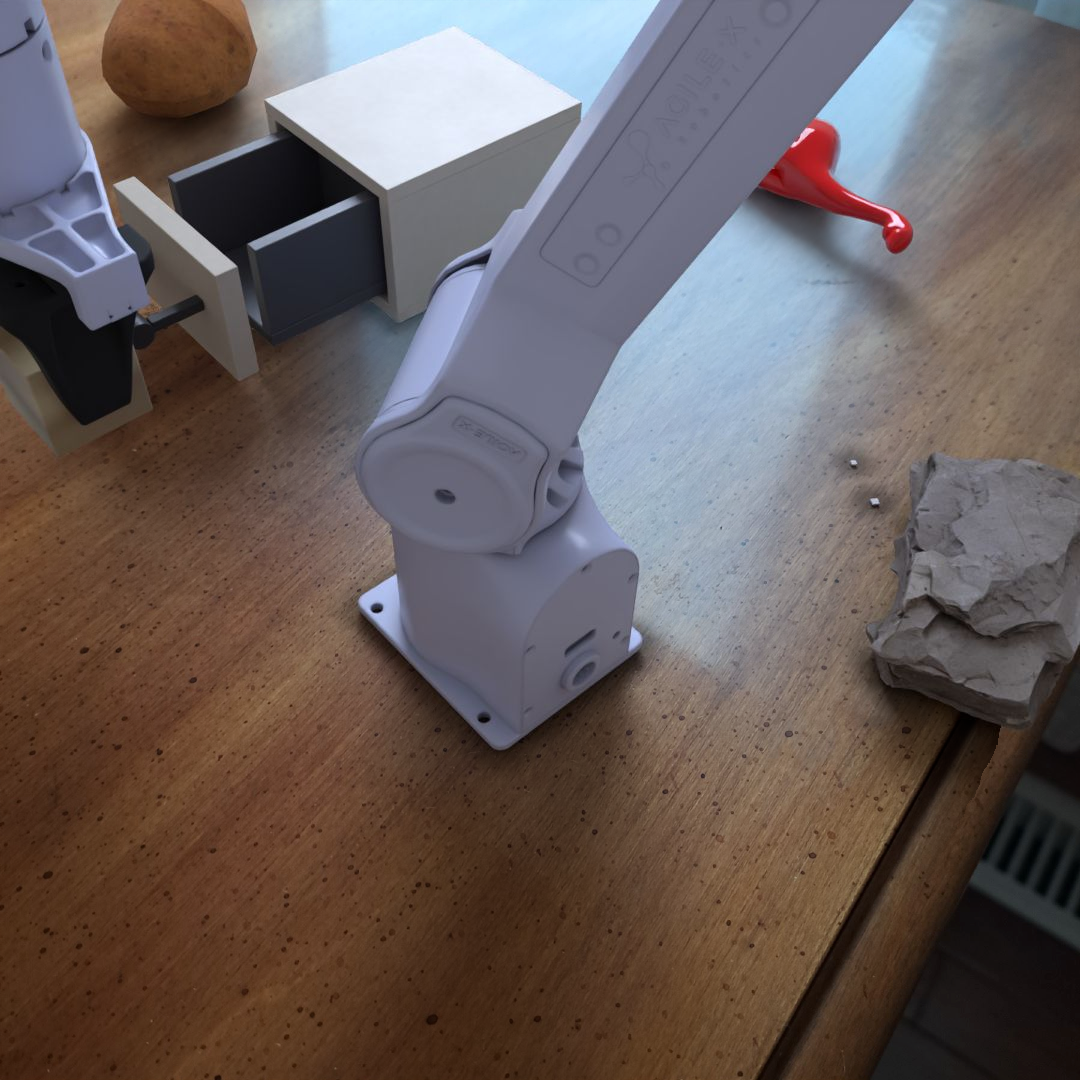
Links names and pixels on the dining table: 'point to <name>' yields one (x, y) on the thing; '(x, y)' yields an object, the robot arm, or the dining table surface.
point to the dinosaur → (830, 184)
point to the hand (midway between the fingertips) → (72, 377)
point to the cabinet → (433, 147)
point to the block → (43, 409)
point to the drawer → (256, 247)
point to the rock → (984, 587)
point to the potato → (178, 54)
